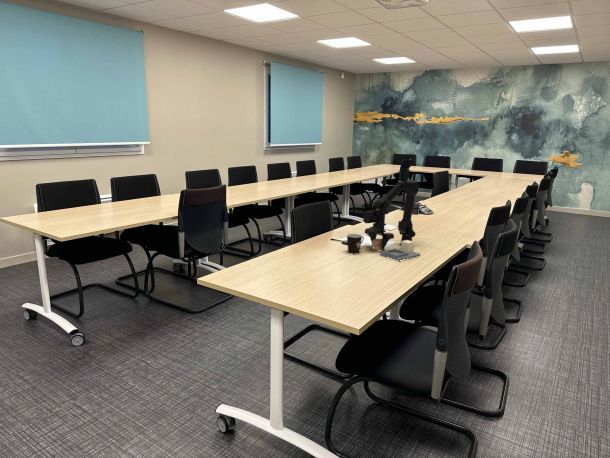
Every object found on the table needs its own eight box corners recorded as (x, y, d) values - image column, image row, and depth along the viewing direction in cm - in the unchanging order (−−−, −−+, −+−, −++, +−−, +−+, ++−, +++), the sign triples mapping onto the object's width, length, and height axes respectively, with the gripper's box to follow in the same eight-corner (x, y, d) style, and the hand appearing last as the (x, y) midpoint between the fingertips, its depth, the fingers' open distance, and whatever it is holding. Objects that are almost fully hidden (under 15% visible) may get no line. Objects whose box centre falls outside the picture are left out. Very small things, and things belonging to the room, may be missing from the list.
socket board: (400, 250, 251) (401, 238, 249) (420, 256, 240) (421, 243, 238) (379, 255, 240) (380, 242, 238) (398, 261, 229) (399, 248, 228)
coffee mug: (349, 254, 240) (350, 237, 238) (344, 250, 248) (344, 234, 246) (368, 253, 243) (369, 236, 241) (362, 249, 251) (363, 233, 249)
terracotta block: (377, 247, 255) (378, 238, 254) (384, 249, 251) (384, 240, 250) (371, 249, 252) (372, 239, 251) (378, 251, 248) (378, 241, 247)
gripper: (358, 220, 250) (357, 245, 254) (381, 226, 236) (380, 253, 240) (372, 218, 257) (370, 243, 261) (395, 224, 242) (393, 250, 246)
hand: (378, 247), depth 252 cm, fingers open, 7 cm apart
